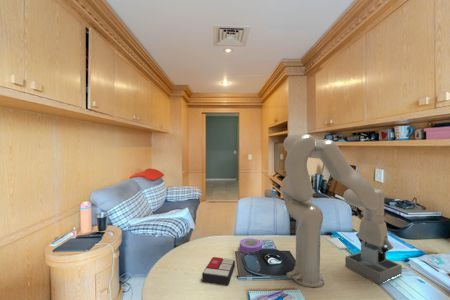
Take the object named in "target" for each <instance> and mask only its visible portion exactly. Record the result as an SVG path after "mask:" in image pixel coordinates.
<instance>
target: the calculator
mask: <svg viewBox="0 0 450 300" xmlns="http://www.w3.org/2000/svg"><path fill="white" fill-rule="evenodd" d="M235 267H236V260H235V259H233V258H223V257H217V256H213V257H211V259H210V260H209V262H208V263H207V264H206V267H205V268H204V270H203V271H202V273H201V274H202V276H201V279H202V280H201V281H202V283H204V284H205V283H207V284H214V285H219V286H226V287H228V286H229V285H230V282H231V278H232V276H233V273H234V270H235Z"/></svg>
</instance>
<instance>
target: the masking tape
mask: <svg viewBox="0 0 450 300" xmlns="http://www.w3.org/2000/svg"><path fill="white" fill-rule="evenodd" d="M262 243H263V242H261V240H259V239H256V238H250V237H247V238H243V239H240V241H239V251H240V253H242V252H243V253H242V254H244V253H249V252H255V251H259V250H261V249H262V250H263V247H262V246H263V244H262Z"/></svg>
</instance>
